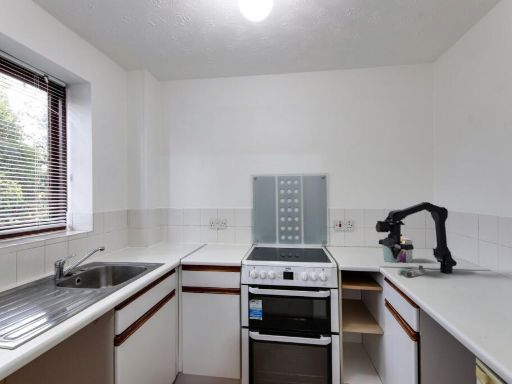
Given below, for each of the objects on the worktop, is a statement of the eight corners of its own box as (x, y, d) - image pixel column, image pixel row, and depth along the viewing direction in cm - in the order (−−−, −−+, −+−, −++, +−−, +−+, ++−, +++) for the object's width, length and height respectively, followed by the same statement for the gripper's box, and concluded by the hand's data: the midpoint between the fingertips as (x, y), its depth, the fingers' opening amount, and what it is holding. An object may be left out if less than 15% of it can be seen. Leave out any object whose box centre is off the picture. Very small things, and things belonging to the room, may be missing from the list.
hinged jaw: (417, 272, 146) (417, 267, 146) (419, 273, 145) (419, 268, 145) (397, 274, 142) (397, 270, 142) (400, 275, 141) (400, 270, 141)
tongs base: (405, 269, 157) (405, 260, 157) (435, 278, 140) (435, 268, 140) (385, 273, 149) (384, 264, 149) (414, 283, 133) (414, 273, 133)
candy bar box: (396, 259, 178) (396, 236, 178) (403, 259, 178) (403, 236, 178) (405, 264, 167) (405, 239, 167) (412, 264, 167) (412, 239, 167)
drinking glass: (402, 264, 167) (402, 246, 167) (391, 265, 164) (391, 247, 164) (389, 260, 177) (389, 243, 177) (379, 261, 173) (378, 244, 173)
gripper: (372, 231, 152) (372, 256, 152) (400, 236, 135) (400, 264, 135) (384, 229, 157) (384, 254, 157) (414, 234, 140) (414, 262, 140)
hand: (395, 258), depth 147 cm, fingers closed
